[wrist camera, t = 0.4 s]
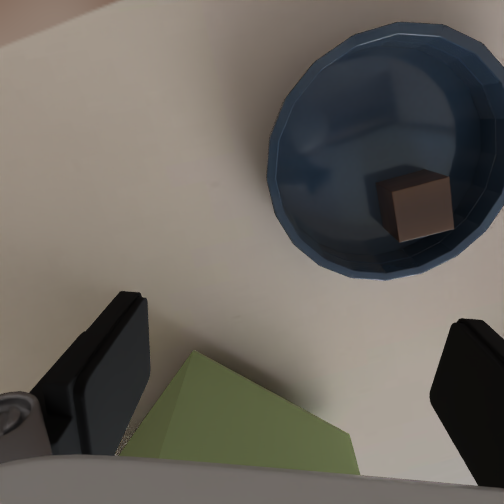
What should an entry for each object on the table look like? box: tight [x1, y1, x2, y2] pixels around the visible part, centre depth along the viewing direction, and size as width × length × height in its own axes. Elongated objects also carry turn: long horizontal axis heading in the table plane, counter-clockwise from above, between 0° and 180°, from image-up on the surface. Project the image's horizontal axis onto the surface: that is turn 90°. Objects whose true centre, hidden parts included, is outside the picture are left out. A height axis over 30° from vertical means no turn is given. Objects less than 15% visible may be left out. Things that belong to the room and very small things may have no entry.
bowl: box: [266, 22, 504, 281], centre depth 23 cm, size 15×15×4 cm
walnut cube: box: [376, 169, 454, 242], centre depth 23 cm, size 4×4×4 cm
